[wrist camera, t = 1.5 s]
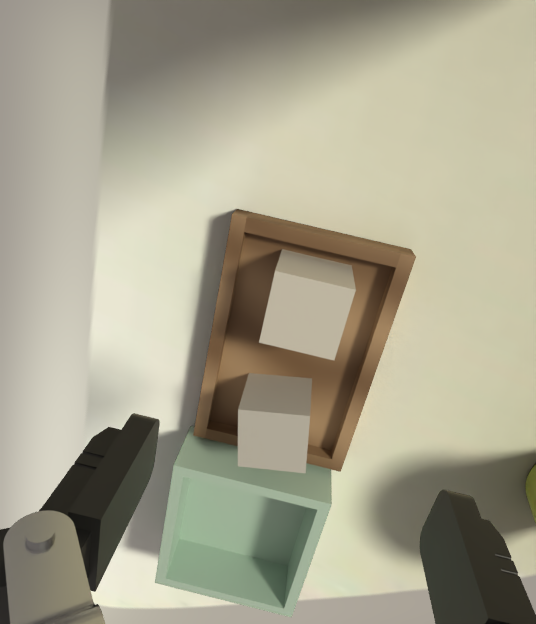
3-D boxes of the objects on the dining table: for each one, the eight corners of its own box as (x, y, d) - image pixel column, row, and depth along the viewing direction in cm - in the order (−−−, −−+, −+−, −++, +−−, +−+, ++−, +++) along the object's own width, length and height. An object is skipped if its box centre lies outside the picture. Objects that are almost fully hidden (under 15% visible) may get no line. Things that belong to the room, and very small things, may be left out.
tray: (237, 208, 26) (232, 213, 25) (411, 249, 26) (415, 257, 25) (198, 421, 32) (193, 435, 31) (339, 456, 32) (340, 471, 31)
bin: (190, 425, 32) (173, 465, 29) (330, 460, 32) (331, 504, 29) (171, 536, 37) (154, 582, 33) (294, 567, 37) (291, 617, 33)
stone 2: (249, 373, 30) (238, 409, 26) (312, 378, 29) (309, 416, 26) (248, 425, 31) (237, 466, 27) (307, 430, 31) (305, 473, 27)
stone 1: (282, 249, 26) (275, 270, 23) (351, 265, 26) (355, 290, 22) (267, 312, 28) (258, 342, 24) (333, 328, 28) (334, 360, 24)
